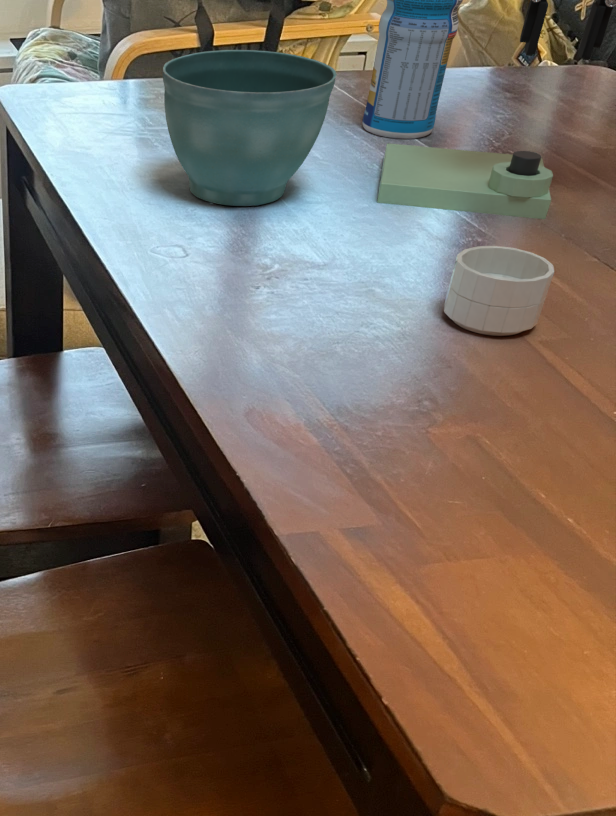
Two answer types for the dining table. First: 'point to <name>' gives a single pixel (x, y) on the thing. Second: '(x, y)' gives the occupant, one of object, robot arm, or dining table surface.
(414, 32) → the beverage bottle
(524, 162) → the button
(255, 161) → the flower pot
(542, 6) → the robot arm
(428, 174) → the pale green flat block
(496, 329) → the bowl
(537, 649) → the dining table surface
